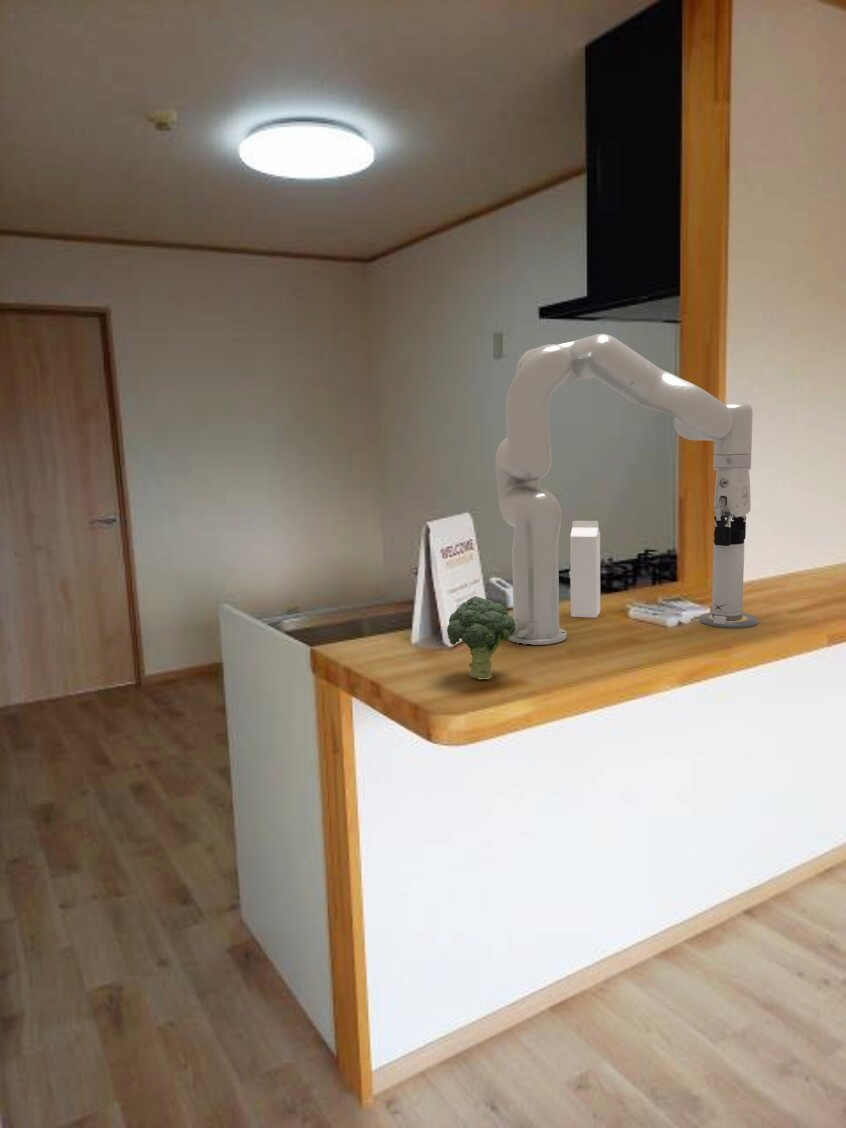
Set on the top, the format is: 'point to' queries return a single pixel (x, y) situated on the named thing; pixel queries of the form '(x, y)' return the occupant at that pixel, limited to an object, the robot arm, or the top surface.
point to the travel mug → (728, 577)
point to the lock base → (722, 623)
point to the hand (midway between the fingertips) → (730, 542)
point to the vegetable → (480, 631)
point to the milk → (585, 569)
